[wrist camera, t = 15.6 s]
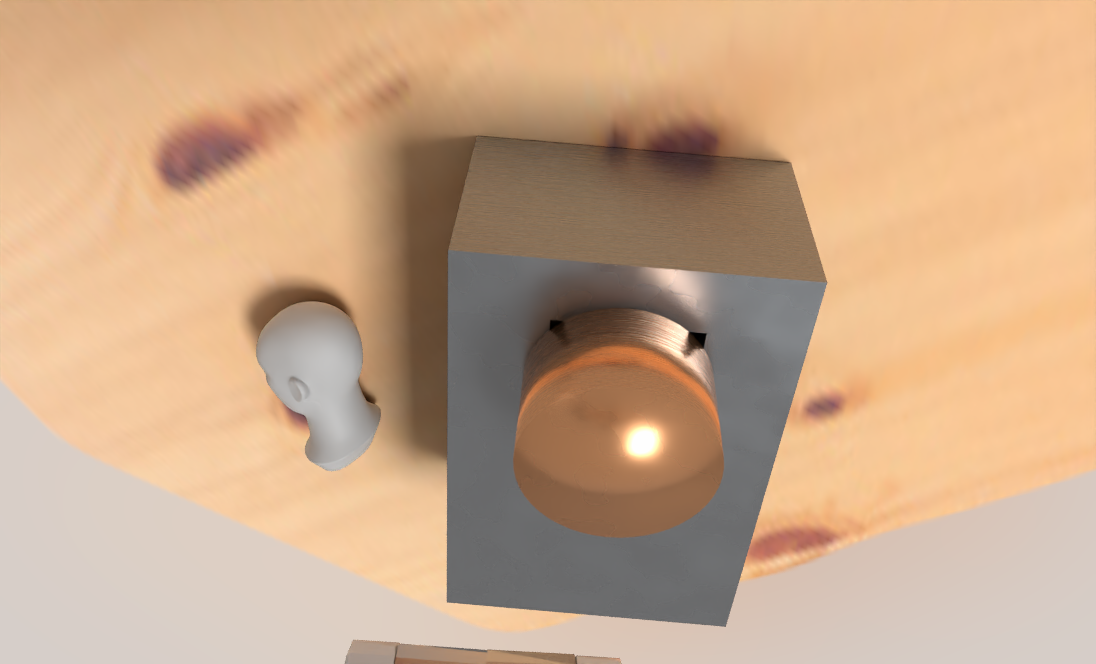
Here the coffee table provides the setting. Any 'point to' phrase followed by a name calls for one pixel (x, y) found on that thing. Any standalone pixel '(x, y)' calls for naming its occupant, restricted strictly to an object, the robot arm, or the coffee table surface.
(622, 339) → the pin
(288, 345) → the mannequin head
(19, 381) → the coffee table surface
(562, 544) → the block
